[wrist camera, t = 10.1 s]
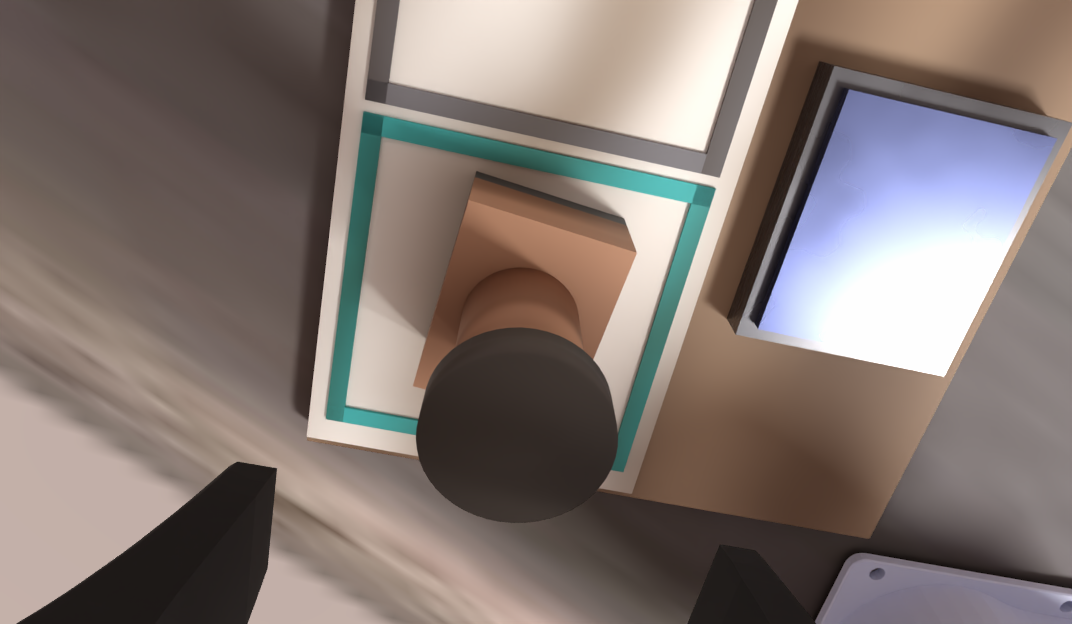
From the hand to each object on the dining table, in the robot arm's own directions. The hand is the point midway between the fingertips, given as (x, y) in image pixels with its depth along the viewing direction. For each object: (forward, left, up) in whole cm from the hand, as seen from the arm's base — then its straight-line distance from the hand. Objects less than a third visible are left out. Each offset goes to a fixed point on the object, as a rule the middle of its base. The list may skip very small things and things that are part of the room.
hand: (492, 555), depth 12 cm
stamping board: (-4, -5, -10) cm, 12 cm away
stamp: (0, -1, -10) cm, 10 cm away
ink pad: (-9, -5, -10) cm, 14 cm away
